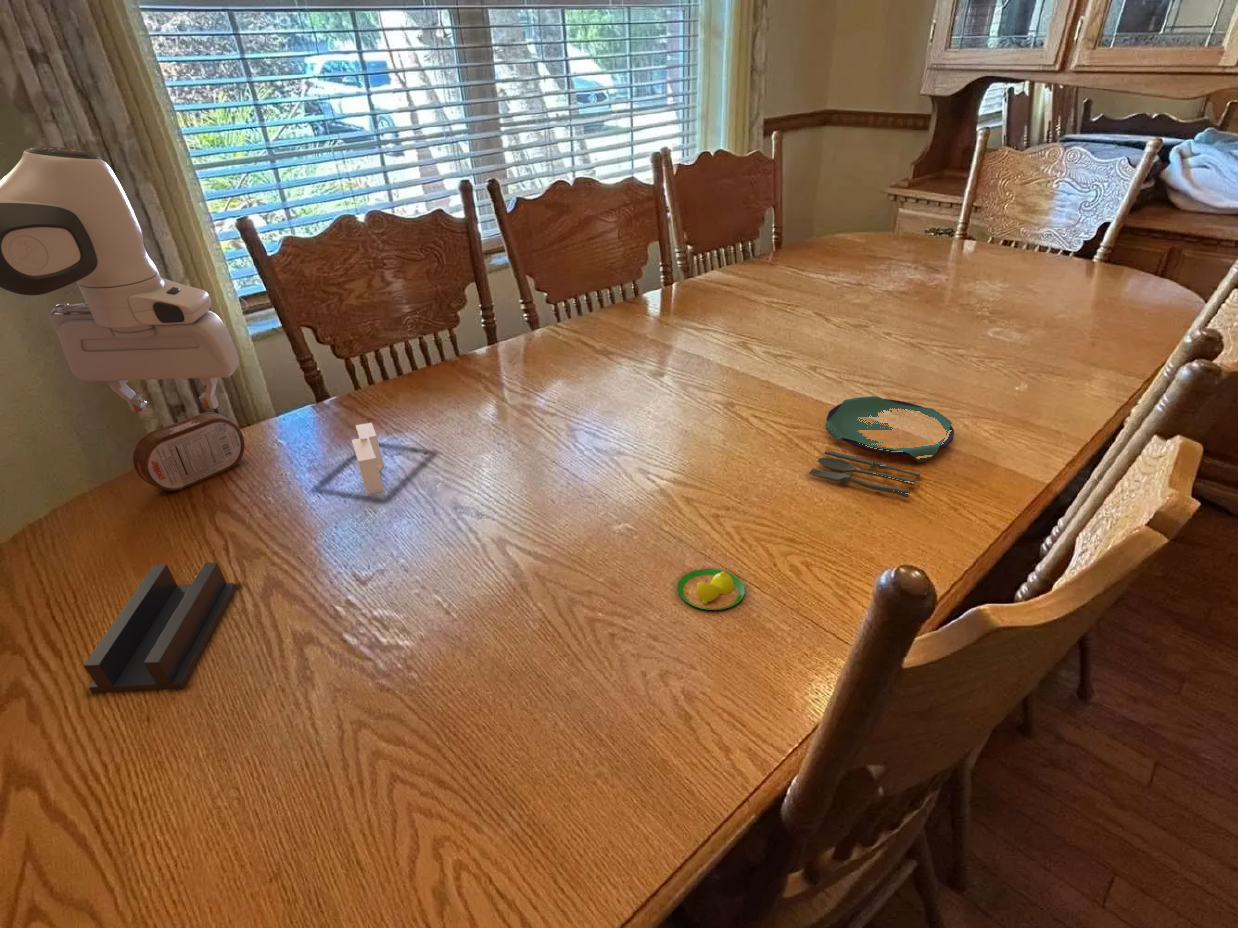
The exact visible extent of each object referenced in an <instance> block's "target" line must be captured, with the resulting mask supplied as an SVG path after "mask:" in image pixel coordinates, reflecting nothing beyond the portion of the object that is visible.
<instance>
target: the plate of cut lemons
mask: <svg viewBox="0 0 1238 928" xmlns="http://www.w3.org/2000/svg"><path fill="white" fill-rule="evenodd" d="M702 576H713V577H712V578H711V581H710V583H707V582H702V581H700V582H697V583H696V592H697V596H698V598H699V599H700V600H701V601H702V604H703V605H707V604H708V603H709V602H712V601H714V600H716V599H717V598H718V596H719V595H727V594H731V593H732V592H733V591H734V589H735V587H736V589H737V598H736V599H735V601H733V602H732V603H730V604H729V605H727V606H723V607H719V608H706V607H703V606H698V605H697V604H694V603H692V602H691V601H689V600H688V599H687V597H686V596H685V593H684V587H685V585H686V584H687V583H688V582H689V581H691V580H692V579H695V578H697V577H702ZM745 591H746V590H745V587H744V584H743V582H742V581H741V580H740V579H739V578H738V577H737V576H735V575H733V574H732V573H731V572H727V571H725V570H721V569H717V568H700V569H696V570H692V571H690V572H688V573H686V574H685V575H683V576H682V577H681V578H680V579H679V581H678V583H677V593H678V595H679V596H680V598H681V599H682V600H683V601H684V602H686V603H687V604H689V605H691V606H693V607H695V608H697V609H698V608H699V609H702V610H711V611H718V610H725V609H729V608H732V607H734V606H736V605H737V604H739V603H740V602H741V601H742V600H743V598H744V596H745V593H746V592H745Z"/></svg>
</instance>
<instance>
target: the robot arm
mask: <svg viewBox="0 0 1238 928" xmlns="http://www.w3.org/2000/svg"><path fill="white" fill-rule="evenodd" d="M144 243H145V242H144V235H143V231H142V228H141V226H140V223H139V221H138V218H137V217H136V214H135V211H134V209H133V207H132V205H131V202H130V201H129V199H128V197H127V195H126V192H125V191H124V188H123V187H122V185H121V183H120V181H119V179H118V177H117V176H116V174H115V172H114V171H113V169H112V167H110V165H109V164H108V163H107V162H106V161H104V160H103V159H102V158H101V157H99V156H97V155H96V154H93V153H90V152H88V151H85V150H80V149H73V148H68V147H58V146H33V147H29V148H27V149H24V151H23V153H22V156H21V157H20V160H19V161H18V163H16V165H15V166H14V167H13V168H12V169H11V170H10V171H9V172H8V173H7V174H6V175H4V176H3V178H1V179H0V288H1V289H3V290H5V291H8V292H10V293H13V294H17V295H21V296H42V295H45V294H49V293H52V292H55V291H57V290H60V289H62V288H65V287H67V286H69V285H73V284H74V283H75V284H76V285H77V286H78V289H79V291H80V292H81V295H82V297H83V299H84V301H85V302H80V303H71V304H69V303H59V304H56V305H55V306H54V308H52V309H51V310H50V312H49V316H48V318H49V322H50V324H51V326H52V328H53V330H54V332H55V333H56V335H57V337H58V338H59V342H60V345H61V348H62V352H63V354H64V356H65V358H66V362H67V364H68V366H69V368H70V370H71V373H72V374H73V375H74V376H75V377H76V378H77V379H79V380H80V381H82V382H85V383H87V382H89V383H90V382H91V383H92V382H93V383H94V382H107V383H108V385H109V388H110V389H111V390H112V391H113V392H115V393H116V394H117V395H118V396H119V397H120V398H122V399H123V400H124V401H126V403H127V405H128V407H129V409H130V411H131V412H132V413H137V412H138V413H139V412H145V411H146V410H147V409H148V408H149V405H148V402H147V401H145V400H146V398H145V396H144V394H137V393H136V392H135V391H134V390H133V389H132V388H131V387H130V386H129V385H128V384H127V383H128V382H129V381H151V380H155V381H156V380H181V379H183V380H185V379H198V380H199V383H200V385H201V386H205V392H202V393H201V395H200V396H199V397H198V400H199V402H200V403H201V407H202V409H203V410H216V409H217V408H218V407H219V401H218V399H217V396H216V394H215V393H216V389H217V384H218V381H219V378H229V377H231V376H233V374H234V373H235V372H236V371H237V369H238V367H239V365H240V356H239V354H238V351H237V348H236V346H235V344H234V341H233V339H232V337H231V335H230V333H229V331H228V329H227V327H226V325H225V323H224V322H223V320H222V319H221V318H220V317H219V316H218V315H217V314H216V313H215V312H213V311H211V310H210V308H211V307H212V304H213V303H212V299H211V296H210V295H209V293H208V292H207V291H206V290H204V289H201V288H197V287H194V286H190V285H187V284H183V283H181V282H176V281H173V280H170V279H167V278H163V277H161V275H160V272H159V270H158V268H157V266H156V265H155V263H154V262H153V260H152V259H151V257H150V256H149V254H148V252H147V250H146V247H145V244H144Z"/></svg>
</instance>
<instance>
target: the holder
mask: <svg viewBox="0 0 1238 928" xmlns="http://www.w3.org/2000/svg"><path fill="white" fill-rule="evenodd" d="M237 589H238V587H237V585H236V583H235V582H227V580H226V578H225V576H224V574H223V572H222V570H221V567H220V564H219V563H218V562H204V563H203V565H202V566H201V568H200V570H199V571H198V573H197V575H195V577H194V579H193V581H192V582H191V583H190V584H178V583H177V582H176V580H175V577H174V576H173V574H172V572H171V570H170V569H169V566H168V564H166V563H164V564H153V565H152V567H151V568H150V569H149V571H148V572H147V573H146V574H145V576H144V578H143V579H142V581H141V582H140V583H139V585H138V586H137V588H136V589H135V591H134V592H133V594H132V595H131V596H130V598H129V599H128V600H127V602H126V604H125V605H124V606H123V608H122V609H121V610H120V612H119V613H118V615H117V616H116V618H115V619H114V621H113V622H112V624H111V625H110V627H109V628H108V630H107V631H106V632H105V634H104V635H103V637H102V638H101V639H100V641H99V642H98V644H97V645H96V647H95V648H94V649H93V651H92V653H90V655H89V657H88V658H87V660H86V661H85V663H84V664H83V668H84V669H85V670H86V672H87V673H88V675H89V677H90V678H91V679H92V681H91V683H90V685H89V686H88V689H89V690H90V692H91V693H92V694H100V693H119V692H120V693H121V692H123V693H124V692H141V691H143V692H144V691H162V690H164V691H165V690H166V691H167V690H183V689H185V687H186V684H187V682H188V681H189V679H190V677H191V675H192V673H193V671H194V670H195V667H196V666H197V664H198V662H199V660H200V658H201V657H202V655H203V653H204V650H205V649H206V647H207V645H208V643H209V641H210V640H211V637H212V636H213V634H214V632H215V630H216V628H217V626H218V624H219V623H220V620H221V619H222V617H223V615H224V613H225V611H226V610H227V608H228V606H229V604H230V602H231V601H232V598H233V596H234V594H235V592H236V590H237Z"/></svg>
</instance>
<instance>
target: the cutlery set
mask: <svg viewBox="0 0 1238 928" xmlns="http://www.w3.org/2000/svg"><path fill="white" fill-rule="evenodd" d="M890 408H891V409H892V408H893V409H894V408H895V409H898V408H899V409H900V408H901V409H904V410H905V409H908V410H910V409H911V410H914V411H920V412H921V413H923V414H925V415H928V416H929V417H933V418H934V417H935V419H937V420H938V421H939V422H940V423H941V425H942V426H943V428H944V429H945V430H947V431H946V432H947V433H948V431H949V430H952V431H951V432H950V434H949V437H948V439H947V440H946V441H945V442H943V441H944V439H945V438H944V439H942V440H941V441H940V442H938V443H939V444H935V445H929V446H921V447H914V448H899V449H898V448H897V449H893V448H886V447H880V446H881V445H880V446H879V445H878V446H879V447H878V446H877V444H876V443H879V442H878V441H876V440H875V441H874V440H872V441H871V439H866V438H867V437H865V436H862V435H863V434H862V433H859V431H858V430H892V429H893V428H892V427H888V426H889V425H888V423H884V424H885V425H886V424H887V425H888V426H887V425H886V426H884V424H883V423H882V424H883V425H882V424H881V423H880V424H881V425H880V424H879V422H878V421H877V422H878V424H876V423H877V422H876V421H875V422H876V423H875V422H874V421H873V422H874V423H875V424H874V423H873V424H871V423H870V422H868V423H867V422H866V423H867V424H868V425H867V424H866V423H864V422H865V421H866V420H865V421H864V420H863V419H860V418H859V419H860V421H861V420H863V421H864V422H863V421H862V422H860V421H859V419H858V417H869V416H870V415H871V416H872V417H877V416H878V412H879V413H880V412H881V411H882V412H883V410H886V411H887V410H888V411H889V409H890ZM911 410H910V411H911ZM890 411H891V412H892V410H890ZM897 411H898V410H897ZM882 412H881V413H882ZM883 413H884V412H883ZM871 416H870V417H871ZM878 417H879V416H878ZM857 419H858V420H857ZM825 421H826V423H825V430H826V432H827V433H828V434H830V436H832V437H833V438H834V439H835V441H836V442H837V441H839V439H840V440H842V441H843V442H846V443H848V444H849V445H851V446H853V447H856V448H859V449H863V450H866V451H869V452H871V453H876V452H877V453H878V454H883V455H888V456H911V455H912V457H913V458H914V457H918V456H924V455H934V456H935V455H936V453H938V451H940V450H943V449H944V447H945V448H946V447H947V446H948V445H949V444H951V442H952V441H953V440H954V436H955V435H954V434H955V429H954V428H953V426H952V425H953V422H952V421H951V420H950V419H948V418H947V417H946V416H944V415H943V414H941V413H940V411H937V410H936V409H933V408H931V407H925V406H921V405H919V404H915V403H912V402H907V401H904V400H896V399H889V398H882V397H879V396H874V395H869V396H859V397H853V398H845V399H844V400H843V401H842V403H839V404H837V405H835V406H834V407H832V409H830V410H829V411H828V414H827V416H826V419H825ZM870 424H871V425H872V426H871V425H870ZM867 427H868V428H867ZM880 427H881V428H880ZM882 427H883V428H882ZM884 427H885V428H884ZM889 428H890V429H889ZM891 428H892V429H891ZM897 429H898V428H897ZM857 431H858V432H857ZM947 433H946V435H947ZM942 442H943V443H944V444H942ZM859 443H860V444H859ZM872 443H873V444H874V443H875V444H876V445H875V444H874V445H873V444H872ZM880 443H881V442H880ZM882 443H883V442H882ZM948 443H949V444H948ZM862 444H863V445H862ZM869 444H870V445H869ZM871 444H872V445H871ZM941 444H942V445H941ZM947 444H948V445H947ZM865 445H867V446H870V447H873V448H870V447H867V446H865ZM874 448H877V449H874ZM942 448H943V449H942ZM879 449H883V450H879ZM939 449H940V450H939ZM886 450H889V451H886ZM891 451H903V452H891ZM877 453H876V454H877ZM823 454H824V455H827V456H829V457H819V458H817V463H819V464H820V465H821V466H823V468H825V469H827V470H829V471H827V470H820V469H817V468H814V467H813V468H812V469H811V470H810V471H809V474H810V475H812V476H814V477H818V478H822V479H826V480H828V481H831V482H834V483H838V484H843V485H847V484H849V483H853V484H857V485H859V486H861V487H864V488H867V489H870V490H875V491H879V492H883V493H888V494H894V495H896V496H897V495H898V496H901V497H903V498H907V499H908V498H909V497H910V495H911V490H909V489H906V488H901V487H895V486H888V485H883V486H882V485H881V484H877V483H872V482H868V481H865V480H863V479H858V478H855V477H852V474H847V473H850V472H852V473H857V474H863V475H864V474H865V475H869V476H873V477H877V478H878V477H879V478H883V479H887V480H891V481H895V482H899V483H902V484H905V485H908V486H911V487H915V484H916V482H915V481H917V479H920V477H921V475H922V472H914V471H910V470H905V469H902V468H899V467H895V466H891V465H889V464H887V463H885V462H884V461H880V462H881V463H879V462H878V461H876V459H874V460H873V461H871V460H867V459H864V458H861V457H858V456H854V455H850V454H846V453H842V452H837V451H833V450H832V451H831V450H825V451H824V453H823ZM830 456H831V457H830ZM932 458H933V457H927V458H920V459H915V461H916V462H917V463H918V464H922V463H924V462H926V461H929V460H931V459H932ZM849 461H851V462H855V463H859V464H863V465H868V466H870V467H871V468H870V469H871V470H872V469H874V468H878V469H879V470H887V469H888V470H891V471H895V472H900V473H904V474H907V475H911V476H915V477H917V479H915V478H909V477H905V476H899V475H896V474H890V473H885V472H877V471H876V472H877V473H876V474H873V472H874V471H871V470H866V469H865V470H864V469H857V467H856V466H855V465H853V464H852V463H851V462H849ZM875 462H876V463H875ZM878 463H879V464H878ZM883 464H886V466H880V465H883ZM877 474H878V475H877ZM881 475H883V476H881ZM885 476H886V477H885ZM888 477H891V478H888ZM892 478H895V479H892ZM896 479H899V480H896ZM900 480H902V481H900ZM904 481H910V482H914V483H915V484H912V483H908V482H904ZM881 486H882V487H881ZM893 490H894V491H893ZM898 491H899V492H898ZM901 492H902V493H901ZM905 493H909V495H908V494H905Z"/></svg>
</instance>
